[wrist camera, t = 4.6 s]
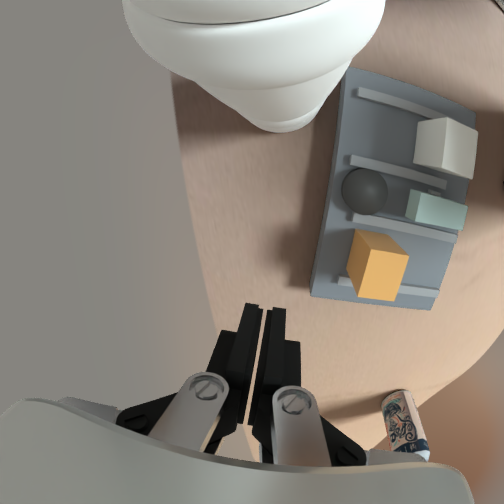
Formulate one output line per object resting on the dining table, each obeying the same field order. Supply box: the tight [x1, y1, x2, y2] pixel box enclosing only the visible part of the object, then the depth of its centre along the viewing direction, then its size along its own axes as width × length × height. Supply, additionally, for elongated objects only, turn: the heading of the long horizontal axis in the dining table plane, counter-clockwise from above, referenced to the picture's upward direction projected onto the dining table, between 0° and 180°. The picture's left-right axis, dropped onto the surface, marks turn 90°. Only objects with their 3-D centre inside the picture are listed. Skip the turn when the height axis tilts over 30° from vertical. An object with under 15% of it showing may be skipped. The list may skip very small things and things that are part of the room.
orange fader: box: [346, 228, 409, 301], centre depth 20 cm, size 3×4×5 cm
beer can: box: [381, 390, 430, 461], centre depth 25 cm, size 5×5×12 cm
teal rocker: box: [405, 189, 468, 231], centre depth 18 cm, size 6×2×1 cm, turn 84°
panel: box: [309, 66, 476, 310], centre depth 20 cm, size 13×20×4 cm, turn 174°
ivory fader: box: [413, 117, 478, 179], centre depth 16 cm, size 3×4×5 cm
